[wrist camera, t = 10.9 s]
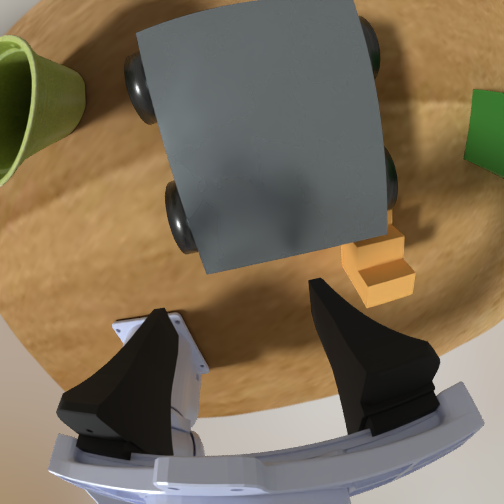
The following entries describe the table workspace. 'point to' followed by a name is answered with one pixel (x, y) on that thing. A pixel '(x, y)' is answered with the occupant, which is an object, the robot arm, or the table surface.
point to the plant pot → (34, 103)
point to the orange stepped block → (379, 267)
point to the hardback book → (486, 131)
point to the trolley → (267, 128)
